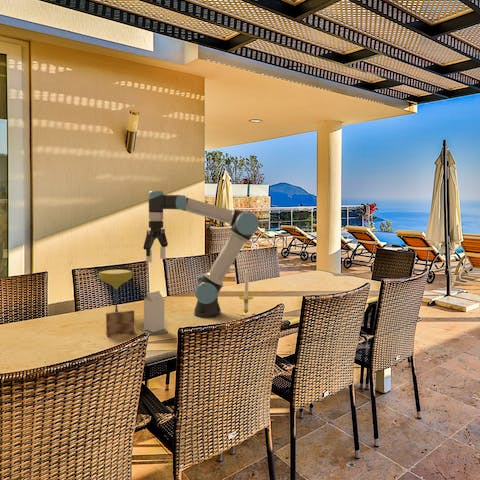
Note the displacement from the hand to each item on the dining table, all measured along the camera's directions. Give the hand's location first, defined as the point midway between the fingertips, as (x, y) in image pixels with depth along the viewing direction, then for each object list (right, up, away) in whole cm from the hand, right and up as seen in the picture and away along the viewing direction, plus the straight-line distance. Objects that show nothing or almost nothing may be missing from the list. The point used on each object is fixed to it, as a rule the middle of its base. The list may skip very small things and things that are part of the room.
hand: (156, 260), depth 221 cm
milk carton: (+2, -34, -14) cm, 37 cm away
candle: (+48, -32, +20) cm, 61 cm away
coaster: (+2, -34, -14) cm, 37 cm away
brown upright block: (-13, -35, -19) cm, 42 cm away
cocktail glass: (-25, -31, +13) cm, 42 cm away
